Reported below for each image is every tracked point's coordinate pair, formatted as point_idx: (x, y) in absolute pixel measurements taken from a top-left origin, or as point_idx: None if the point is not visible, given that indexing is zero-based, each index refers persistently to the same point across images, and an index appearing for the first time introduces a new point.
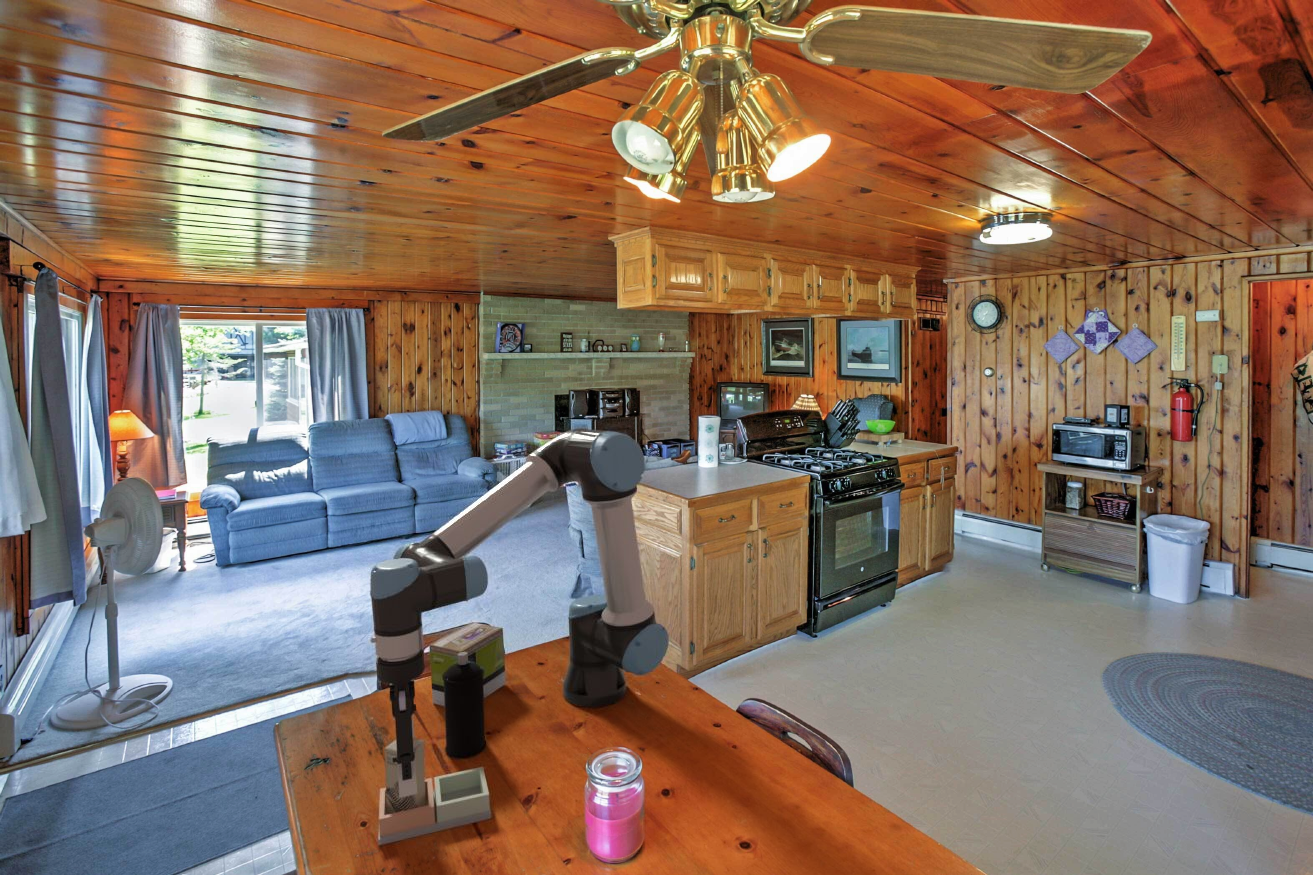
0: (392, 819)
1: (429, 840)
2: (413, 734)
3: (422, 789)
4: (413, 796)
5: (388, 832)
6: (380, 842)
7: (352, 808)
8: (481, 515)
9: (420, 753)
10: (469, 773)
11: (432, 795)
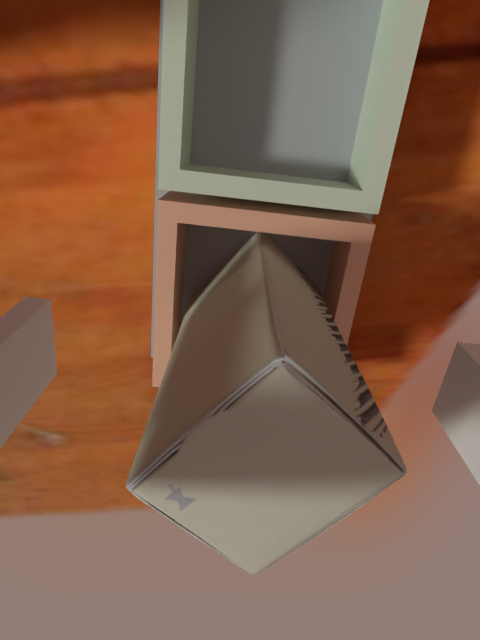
0: None
1: (398, 234)
2: (6, 346)
3: (281, 265)
4: (324, 309)
5: None
6: None
7: (124, 411)
8: None
9: (312, 351)
10: (189, 2)
11: (293, 218)
